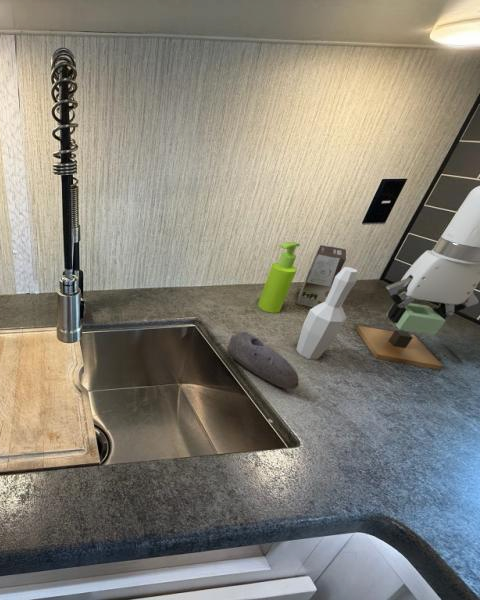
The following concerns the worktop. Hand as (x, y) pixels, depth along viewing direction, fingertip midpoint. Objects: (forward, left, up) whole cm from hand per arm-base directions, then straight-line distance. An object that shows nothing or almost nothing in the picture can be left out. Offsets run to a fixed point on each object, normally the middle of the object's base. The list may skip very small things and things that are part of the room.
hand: (410, 322), depth 72 cm
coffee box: (+13, -19, -8) cm, 24 cm away
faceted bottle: (+20, +9, -8) cm, 24 cm away
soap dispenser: (+26, -10, -8) cm, 29 cm away
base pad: (0, 0, -8) cm, 8 cm away
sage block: (0, 0, -1) cm, 1 cm away
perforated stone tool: (+32, +20, -8) cm, 39 cm away
